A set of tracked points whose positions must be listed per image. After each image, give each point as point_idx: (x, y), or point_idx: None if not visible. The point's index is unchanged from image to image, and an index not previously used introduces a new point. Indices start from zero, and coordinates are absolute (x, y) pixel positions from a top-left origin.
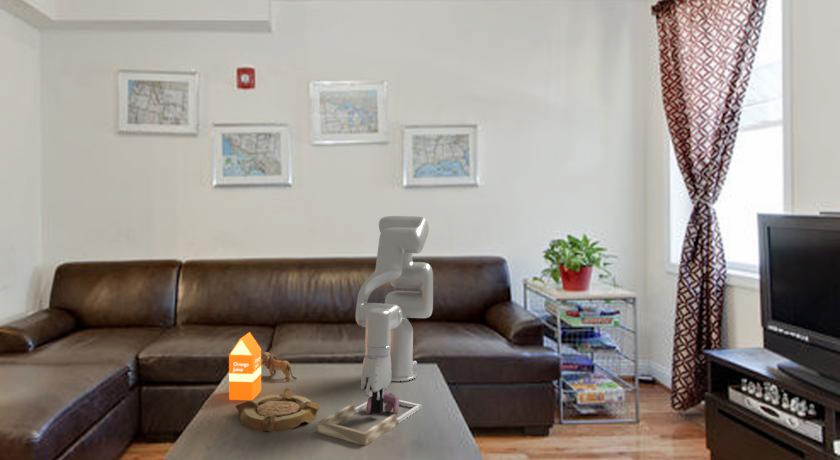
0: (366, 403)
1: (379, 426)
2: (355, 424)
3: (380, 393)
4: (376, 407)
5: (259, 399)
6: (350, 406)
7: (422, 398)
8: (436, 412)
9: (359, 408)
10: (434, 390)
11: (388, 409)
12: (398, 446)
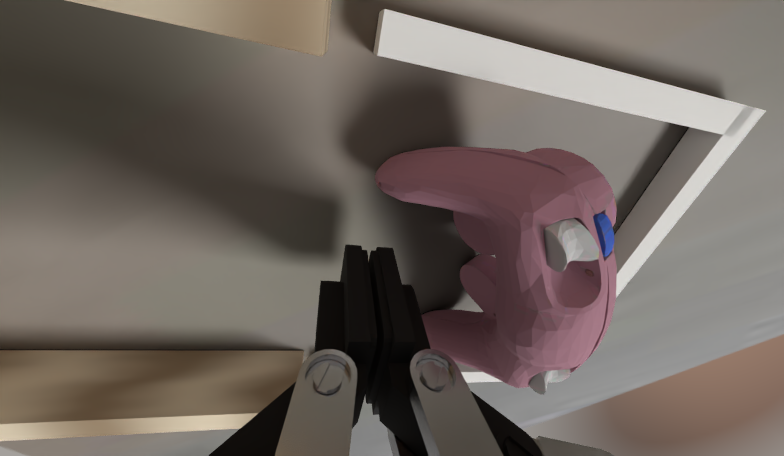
0: (558, 90)
1: (61, 433)
2: (139, 168)
3: (414, 442)
4: (316, 330)
5: None
6: (236, 16)
7: (672, 323)
8: (503, 406)
9: (431, 67)
10: (767, 324)
11: (469, 284)
12: (97, 444)
